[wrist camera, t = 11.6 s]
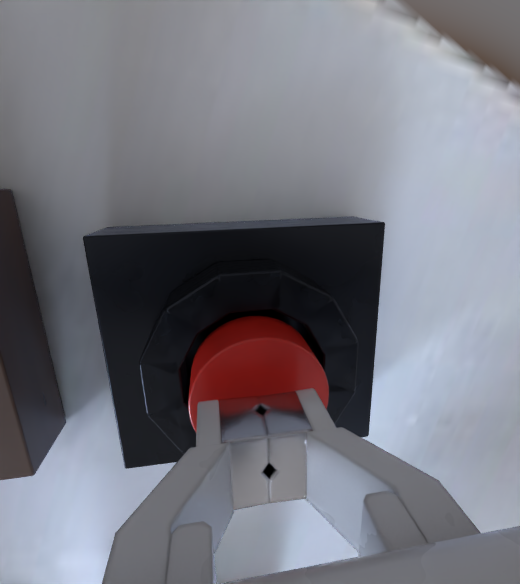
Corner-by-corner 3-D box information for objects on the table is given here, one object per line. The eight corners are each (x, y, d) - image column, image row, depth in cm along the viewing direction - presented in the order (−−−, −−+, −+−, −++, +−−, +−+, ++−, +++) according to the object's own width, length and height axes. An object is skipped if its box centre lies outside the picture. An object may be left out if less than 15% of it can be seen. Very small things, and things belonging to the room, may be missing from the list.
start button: (313, 310, 11) (332, 332, 9) (311, 416, 12) (327, 452, 10) (185, 320, 10) (180, 345, 9) (196, 430, 11) (194, 471, 10)
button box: (354, 216, 14) (415, 227, 10) (344, 399, 17) (390, 470, 13) (106, 227, 13) (57, 245, 9) (138, 424, 16) (112, 511, 11)
